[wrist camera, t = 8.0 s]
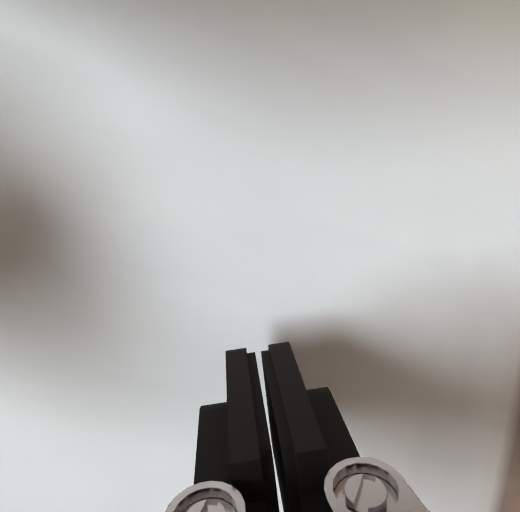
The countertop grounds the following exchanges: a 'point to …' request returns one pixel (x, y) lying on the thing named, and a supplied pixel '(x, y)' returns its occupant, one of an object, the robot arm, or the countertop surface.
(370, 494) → the robot arm
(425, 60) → the countertop surface
